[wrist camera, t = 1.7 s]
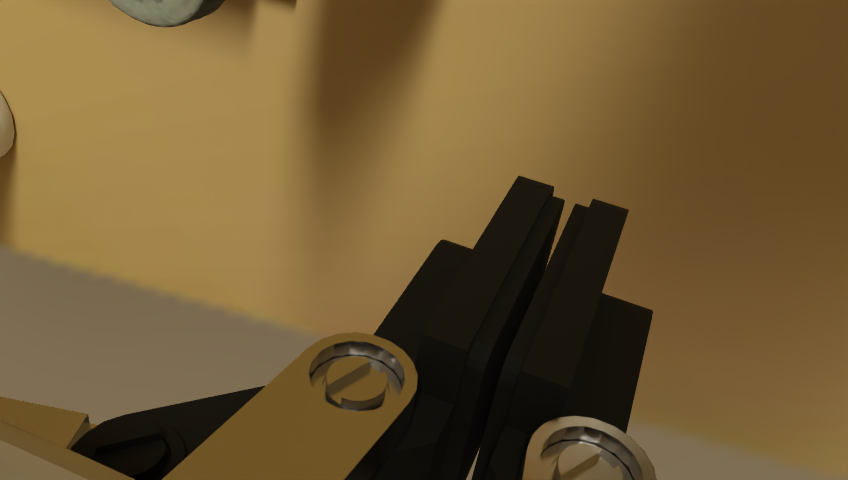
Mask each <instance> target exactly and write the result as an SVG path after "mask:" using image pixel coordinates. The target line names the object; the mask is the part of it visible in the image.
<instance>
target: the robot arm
mask: <svg viewBox="0 0 848 480" xmlns="http://www.w3.org/2000/svg"><path fill="white" fill-rule="evenodd" d="M553 192H554V186H550V185H547V184H544V183H541V182H538V181H534V180H531V179H528V178H525V177H521V176H518V178H517V179H516V180H515V182H514V184H513V185H512V187H511V189H510V190H509V192H508V193H507V195H506V197H505V198H504V200H503V201H502V203H501V205H500V206H499V208H498V209H497V211H496V213H495V214H494V216H493V218H492V219H491V221H490V222H489V224H488V226H487V227H486V229H485V230H484V232H483V234H482V235H481V237H480V239H479V240H478V242H477V243H476V245H475V247H474V248H473V249H470V248H467V247H464V246H461V245H458V244H456V243H453V242H450V241H447V240H440V242H439V243H438V244H437V245H436V246H435V248H434V249H433V251H432V252H431V253H430V255H429V256H428V258H427V259H426V261H425V262H424V263H423V265H422V266H421V268H420V269H419V271H418V272H417V273H416V275H415V276H414V278H413V279H412V281H411V282H410V283H409V285H408V286H407V288H406V289H405V291H404V292H403V293H402V295H401V296H400V298H399V299H398V301H397V302H396V303H395V305H394V306H393V308H392V309H391V311H390V312H389V313H388V315H387V316H386V318H385V319H384V321H383V322H382V323H381V325H380V326H379V328H378V329H377V331H376V332H375V333H374V335H370V334H363V333H356V332H355V333H343V334H336V335H333V336H330V337H326V338H323V339H321V340H319V341H318V342H316V343H315V344H313V345H312V346H310V347H309V348H307V349H306V350H305V351H304V352H303V353H302V354H301V355H300V356H299V357H297V358H296V359H295V360H294V361H293V362H292V363H291V364H290V365H289V366H287V367H286V368H285V369H284V370H283V371H282V372H281V373H280V374H278V375H277V376H276V377H275V378H274V379H273V380H272V381H271V382H270V383H269V384H267V385H266V386H262V387H257V388H252V389H248V390H242V391H238V392H233V393H228V394H223V395H218V396H213V397H208V398H204V399H199V400H194V401H189V402H184V403H180V404H175V405H170V406H165V407H160V408H155V409H151V410H146V411H141V412H136V413H131V414H126V415H123V416H120V417H116V418H113V419H110V420H107V421H104V422H103V423H101V424H99V425H95V424H90V423H89V417H88V414H85V413H80V412H75V411H70V410H65V409H60V408H55V407H50V406H45V405H40V404H35V403H30V402H25V401H20V400H15V399H10V398H5V397H0V480H466V478H467V476H468V474H469V471H470V469H471V466H472V464H473V462H474V460H475V457H476V455H477V453H478V450H479V448H480V450H479V454H478V457H477V461H476V465H475V469H474V472H473V476H472V480H657V479H656V475H655V470H654V467H653V465H652V463H651V462H650V460H649V458H648V456H647V455H646V453H645V451H644V450H643V449H642V448H641V447H640V446H639V445H638V444H637V443H636V442H635V441H634V440H633V439H632V438H631V437H630V436H628V435H627V434H626V431H627V427H628V422H629V418H630V413H631V409H632V404H633V400H634V395H635V391H636V387H637V382H638V378H639V373H640V369H641V364H642V360H643V355H644V351H645V346H646V342H647V337H648V333H649V329H650V324H651V320H652V314H653V311H652V310H650V309H647V308H644V307H641V306H638V305H635V304H632V303H629V302H627V301H624V300H621V299H618V298H615V297H612V296H609V295H606V294H603V293H602V290H603V287H604V284H605V281H606V278H607V275H608V272H609V269H610V266H611V263H612V260H613V257H614V254H615V251H616V248H617V244H618V241H619V238H620V235H621V232H622V229H623V226H624V223H625V220H626V217H627V214H628V211H629V210H628V209H624V208H621V207H618V206H615V205H611V204H608V203H605V202H602V201H599V200H595V199H593V200H592V202H591V204H590V206H589V208H588V207H585V206H582V205H579V204H575V206H574V208H573V210H572V212H571V215H570V217H569V219H568V221H567V223H566V226H565V228H564V230H563V232H562V235H561V237H560V239H559V241H558V243H557V246H556V248H555V250H554V252H553V254H552V257H551V259H550V261H549V263H548V265H547V262H548V259H549V256H550V252H551V249H552V245H553V242H554V238H555V235H556V231H557V228H558V224H559V221H560V217H561V214H562V210H563V206H564V202H565V200H563V199H560V198H557V197H553ZM546 266H547V268H546ZM545 269H546V270H545Z"/></svg>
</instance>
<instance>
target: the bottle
mask: <svg viewBox="0 0 848 480" xmlns="http://www.w3.org/2000/svg"><path fill="white" fill-rule="evenodd" d="M14 134H15V130H14V125H13V119H12V114H11V112H10V110H9V107H8V105H7V103H6V101H5V98H4V97H3V95H2V94H1V92H0V157H1V156H3V155H5V154H6V153H7V152H8V151H9V149H10V148H11V147H12V145H13V139H14Z"/></svg>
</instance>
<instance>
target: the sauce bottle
mask: <svg viewBox="0 0 848 480" xmlns="http://www.w3.org/2000/svg"><path fill="white" fill-rule="evenodd" d="M110 1H111V3H112V4H113V5H114V6H115V7H117V8H118V9H120V10H121V11H123V12H124V13H126V14H127V15H129V16H130V17H132V18H134V19H136V20H139V21H141V22H143V23H145V24H148V25H153V26H157V27H175V26H179V25H183V24H186V23H188V22H190V21H193V20H196V19H199V18H202V17H204V16H206V15H209V14H211V13H212V12H214V11H215V10H216V9H218V8H219V7H220V6H221V4H222V3H223V2H224V1H225V0H110Z"/></svg>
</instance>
